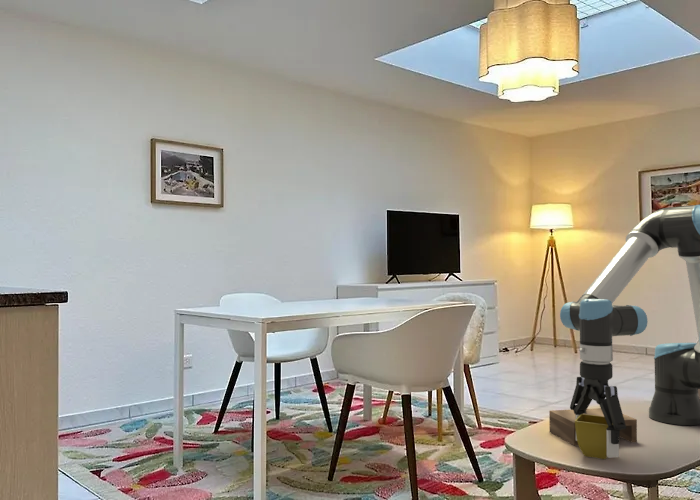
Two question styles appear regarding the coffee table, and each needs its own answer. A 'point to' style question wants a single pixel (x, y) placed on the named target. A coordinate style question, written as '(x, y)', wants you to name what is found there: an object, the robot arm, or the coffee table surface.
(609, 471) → the coffee table surface
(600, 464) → the coffee table surface
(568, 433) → the walnut shelf
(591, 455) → the flower pot
